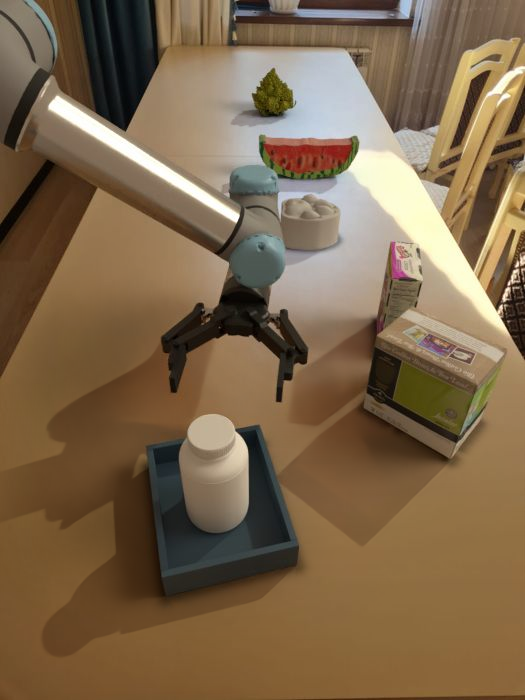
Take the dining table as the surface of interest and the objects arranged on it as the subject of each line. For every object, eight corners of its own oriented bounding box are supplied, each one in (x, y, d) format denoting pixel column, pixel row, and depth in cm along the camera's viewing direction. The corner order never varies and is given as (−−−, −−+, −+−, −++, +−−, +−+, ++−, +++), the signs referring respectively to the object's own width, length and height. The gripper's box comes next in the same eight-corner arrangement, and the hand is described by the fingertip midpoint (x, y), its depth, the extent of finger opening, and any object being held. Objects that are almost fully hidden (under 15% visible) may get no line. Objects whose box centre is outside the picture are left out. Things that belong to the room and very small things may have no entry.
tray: (150, 465, 75) (145, 445, 72) (259, 444, 78) (259, 424, 75) (165, 596, 61) (161, 577, 58) (297, 564, 64) (299, 545, 61)
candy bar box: (374, 317, 101) (389, 239, 90) (402, 320, 100) (420, 242, 89) (374, 357, 92) (391, 276, 81) (404, 361, 92) (425, 280, 81)
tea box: (480, 421, 82) (511, 348, 72) (449, 462, 76) (478, 387, 66) (394, 375, 89) (412, 302, 79) (360, 408, 83) (374, 334, 74)
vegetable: (272, 89, 194) (281, 56, 180) (296, 122, 192) (306, 92, 178) (237, 103, 190) (244, 71, 176) (261, 138, 188) (270, 108, 173)
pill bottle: (177, 528, 67) (164, 451, 57) (198, 475, 72) (189, 398, 63) (239, 542, 65) (236, 467, 55) (255, 487, 71) (256, 410, 61)
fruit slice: (258, 179, 146) (259, 142, 139) (258, 169, 150) (258, 133, 144) (355, 180, 146) (360, 142, 140) (352, 170, 151) (356, 134, 144)
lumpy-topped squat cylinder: (280, 225, 126) (282, 190, 121) (336, 228, 126) (340, 193, 120) (279, 248, 119) (280, 212, 113) (338, 251, 118) (342, 215, 112)
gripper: (324, 318, 86) (321, 418, 70) (169, 306, 88) (133, 402, 72) (328, 279, 81) (327, 377, 65) (165, 267, 83) (124, 360, 67)
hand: (225, 390), depth 68 cm, fingers open, 13 cm apart
